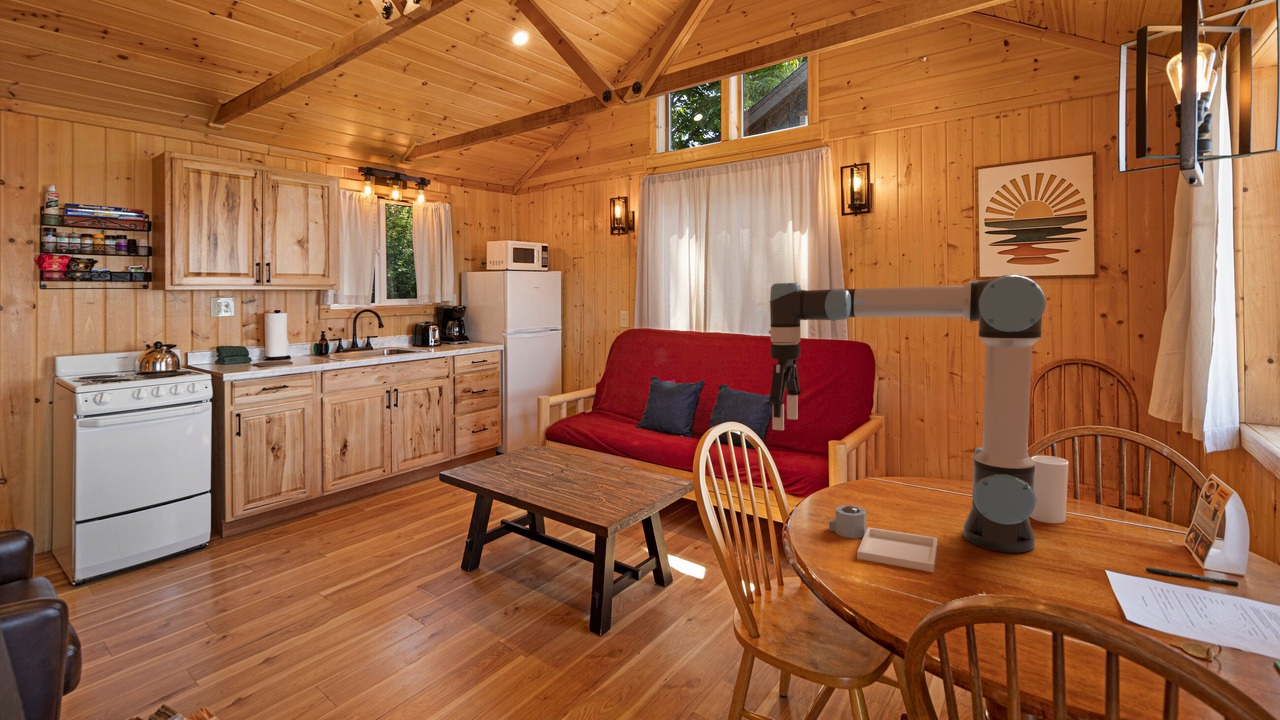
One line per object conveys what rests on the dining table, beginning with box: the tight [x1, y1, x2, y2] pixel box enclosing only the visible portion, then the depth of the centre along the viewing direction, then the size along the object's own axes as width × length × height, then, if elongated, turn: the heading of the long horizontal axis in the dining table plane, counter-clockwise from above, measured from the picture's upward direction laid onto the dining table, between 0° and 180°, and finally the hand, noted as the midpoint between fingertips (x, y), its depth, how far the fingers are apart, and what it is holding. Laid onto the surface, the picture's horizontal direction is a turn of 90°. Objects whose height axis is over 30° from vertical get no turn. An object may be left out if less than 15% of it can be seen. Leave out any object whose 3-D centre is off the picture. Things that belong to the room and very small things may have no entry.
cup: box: [1029, 455, 1069, 524], centre depth 162 cm, size 8×8×16 cm
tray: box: [856, 526, 938, 574], centre depth 143 cm, size 16×16×2 cm
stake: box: [845, 505, 857, 514], centre depth 155 cm, size 6×6×7 cm
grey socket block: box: [828, 504, 867, 540], centre depth 155 cm, size 9×7×6 cm
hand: (785, 424), depth 158 cm, fingers open, 13 cm apart
